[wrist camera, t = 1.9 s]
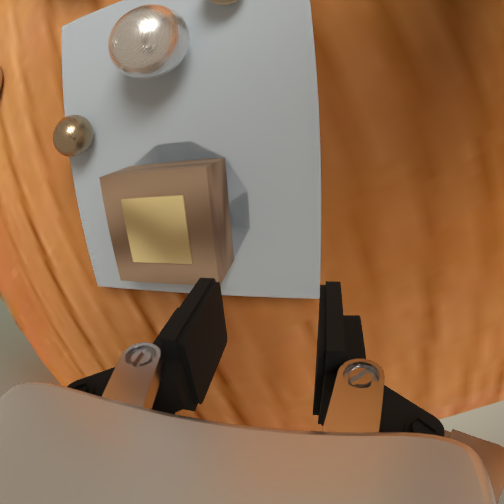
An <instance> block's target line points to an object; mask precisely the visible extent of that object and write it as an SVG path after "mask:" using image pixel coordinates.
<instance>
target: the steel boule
mask: <svg viewBox="0 0 504 504" xmlns="http://www.w3.org/2000/svg"><path fill="white" fill-rule="evenodd" d="M189 42H190V35H189V29H188V26H187V24H186V22H185V20H184V19H183V17H182V16H181V15H180V14H179V13H177V12H176V11H175V10H173V9H171V8H169V7H166V6H163V5H157V4H150V5H143V6H139V7H137V8H134V9H132V10H130V11H129V12H127V13H126V14H124V15H123V16H122V17H121V18H120V19H119V20H118V21H117V22H116V23H115V25H114V27H113V28H112V30H111V33H110V35H109V39H108V52H109V56H110V59H111V61H112V63H113V65H114V66H115V67H116V68H117V69H118V70H119V71H120V72H121V73H123V74H124V75H126V76H129V77H131V78H135V79H141V80H148V79H154V78H158V77H161V76H163V75H165V74H167V73H169V72H171V71H172V70H173V69H175V68H176V67H177V66H178V65H179V64H180V63H181V61H182V60H183V58H184V57H185V55H186V53H187V50H188V47H189Z"/></svg>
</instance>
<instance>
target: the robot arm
mask: <svg viewBox="0 0 504 504" xmlns="http://www.w3.org/2000/svg"><path fill="white" fill-rule="evenodd" d="M226 343H227V332H226V325H225V317H224V310H223V302H222V294H221V286H220V283H219V282H216V280H215V279H214V278H199V280H198V281H197V283H196V284H195V286H194V287H193V289H192V290H191V291H190V293H189V294H188V296H187V297H186V299H185V300H184V302H183V303H182V305H181V306H180V308H177V309H176V310H175V312H174V313H173V315H172V316H171V318H170V319H169V321H168V322H167V324H166V325H165V326H164V328H163V329H162V331H161V332H160V334H159V335H158V337H157V338H156V340H155V341H154V343H153V344H152V343H138V344H134V345H132V346H130V347H128V348H127V349H126V350H125V351H124V352H123V353H122V355H121V357H120V359H119V361H118V363H117V365H116V367H114V368H111V369H108V370H106V371H103V372H100V373H97V374H94V375H91V376H88V377H86V378H83V379H80V380H77V381H75V382H73V383H71V384H70V385H68V386H67V387H65V386H61V385H56V384H50V383H41V382H39V383H23V384H19V385H17V386H14V387H13V388H11V389H10V390H9V391H7V392H6V393H5V394H4V395H3V396H2V397H1V398H0V504H498V502H499V499H500V496H501V494H502V491H503V488H504V447H502V446H500V445H498V444H495V443H491V442H489V441H486V440H482V439H479V438H476V437H474V436H471V435H468V434H465V433H462V432H460V431H457V430H454V429H453V430H452V431H451V432H449V431H446V430H444V427H443V425H442V423H441V422H440V421H439V420H438V419H437V418H436V417H434V416H433V415H431V414H430V413H428V412H426V411H425V410H423V409H421V408H420V407H418V406H417V405H415V404H413V403H412V402H410V401H409V400H407V399H405V398H404V397H402V396H401V395H399V394H398V393H396V392H394V391H393V390H391V389H390V388H388V387H387V386H385V385H384V379H385V376H384V371H383V369H382V368H381V366H379V365H378V364H377V363H375V362H373V361H371V360H367V359H366V355H365V347H364V339H363V332H362V325H361V319H360V316H346V315H343V306H342V295H341V285H340V282H328V281H326V285H320V303H319V323H318V340H317V358H316V376H315V391H314V404H313V415H319V418H318V424H321V425H322V426H323V429H322V432H320V431H298V430H284V429H272V428H262V427H252V426H244V425H236V424H228V423H221V422H215V421H208V420H202V419H196V418H191V417H185V416H180V410H182V409H185V410H191V411H195V409H196V407H197V405H198V403H199V404H202V402H203V400H204V398H205V395H206V393H207V391H208V388H209V386H210V383H211V381H212V378H213V376H214V373H215V371H216V368H217V366H218V363H219V361H220V359H221V356H222V354H223V351H224V349H225V346H226Z"/></svg>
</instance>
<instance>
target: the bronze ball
mask: <svg viewBox="0 0 504 504" xmlns="http://www.w3.org/2000/svg"><path fill="white" fill-rule="evenodd" d="M92 139H93V128H92V125H91V123H90V122H89V121H88V119H86V118H85V117H83V116H81V115H69V116H67V117H65V118H63V119H62V120H61V121H60V122H59V123H58V124H57V126H56V127H55V130H54V133H53V143H54V146H55V148H56V149H57V151H58V152H59V153H61V154H62V155H64V156H68V157H74V156H78V155H80V154H82V153H84V152H85V151H86V150H87V149H88V148H89V146H90V144H91V142H92Z"/></svg>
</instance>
